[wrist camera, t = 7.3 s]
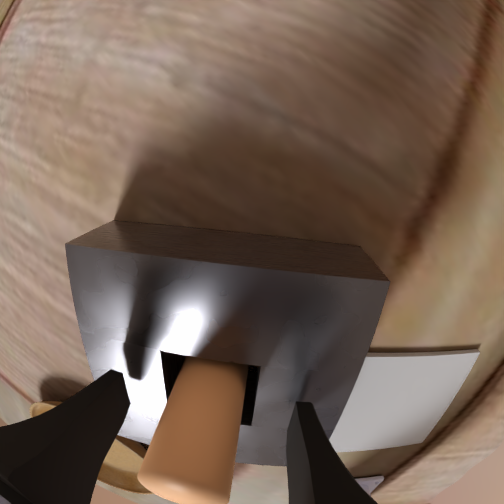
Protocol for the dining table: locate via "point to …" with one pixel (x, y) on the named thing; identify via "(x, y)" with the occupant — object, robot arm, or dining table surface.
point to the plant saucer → (113, 458)
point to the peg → (197, 434)
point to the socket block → (226, 320)
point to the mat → (400, 398)
